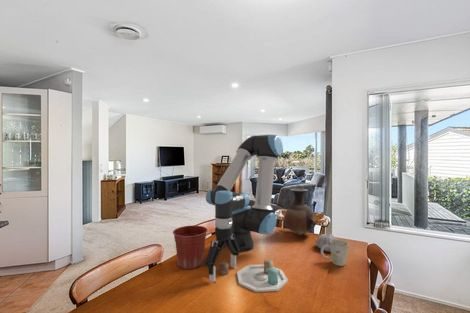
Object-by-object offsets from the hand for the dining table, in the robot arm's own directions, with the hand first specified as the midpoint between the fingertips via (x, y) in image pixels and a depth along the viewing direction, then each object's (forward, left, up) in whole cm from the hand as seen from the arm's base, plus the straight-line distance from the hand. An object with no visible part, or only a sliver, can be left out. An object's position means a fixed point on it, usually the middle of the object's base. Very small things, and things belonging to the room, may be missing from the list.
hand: (223, 275), depth 102 cm
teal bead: (+21, +7, +1) cm, 22 cm away
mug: (+34, +43, 0) cm, 55 cm away
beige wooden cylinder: (+15, +13, +1) cm, 20 cm away
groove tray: (+15, +7, 0) cm, 17 cm away
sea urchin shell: (+26, +59, 0) cm, 65 cm away
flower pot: (-20, -2, 0) cm, 20 cm away
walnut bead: (0, 0, 0) cm, 0 cm away
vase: (+4, +70, 0) cm, 70 cm away
